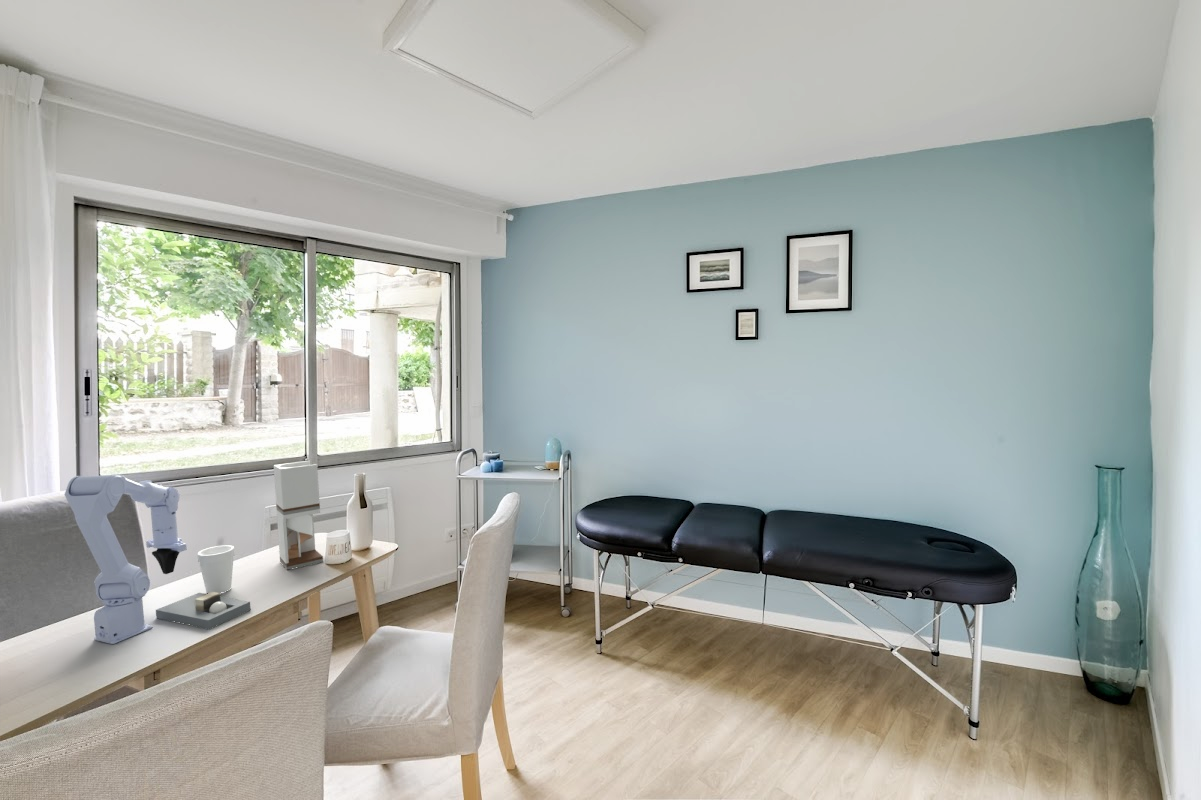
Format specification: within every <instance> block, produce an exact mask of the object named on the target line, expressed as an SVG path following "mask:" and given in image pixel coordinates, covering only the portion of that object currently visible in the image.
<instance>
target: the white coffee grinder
mask: <svg viewBox="0 0 1201 800" xmlns="http://www.w3.org/2000/svg"><path fill="white" fill-rule="evenodd" d="M310 461H311V460H304V461H295V462H287V463H280V464H274V465H273V473H274V475H273V476H274V489H275V490H274V491H275V492H274V493H275V505H276V520H277V521H276V523H277V524H276V525H277V535H278V536H277V537H278V549H279V550H278V552H279V553H278V554H279V563H280V562H281V563H282V564H283V565H282V564H281V563H280V564H281V565H282V566H283V568H284V569H285V568H286V569H291V570H293V569H292V568H295V569H297V568H296V567H299V568H303V567H302V566H304V567H307V566H306V565H308V566H311V564H312V565H317V564H320V562H321V563H324V556H323V555H322V554H321V553H320V552H319V551H318V550H316V542H315V541H316V540H315V539H316V538H315V524H314V523H315V520H314V515H315V514H320V513H321V507H320V506H321V505H320V502H321V501H320V491H319V489H320V488H319V487H320V485H319V470H318V463H317V464H316V463H314V464H311V462H310ZM286 569H285V570H286Z"/></svg>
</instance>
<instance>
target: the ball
mask: <svg viewBox="0 0 1201 800" xmlns="http://www.w3.org/2000/svg"><path fill="white" fill-rule="evenodd" d="M226 609H227V606H226V604H225V603H224V602H215V603H214V604H212V605H211V607H210V609H209V612H210V613H212V614H217V613H219V612H222V611H224V610H226Z"/></svg>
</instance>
